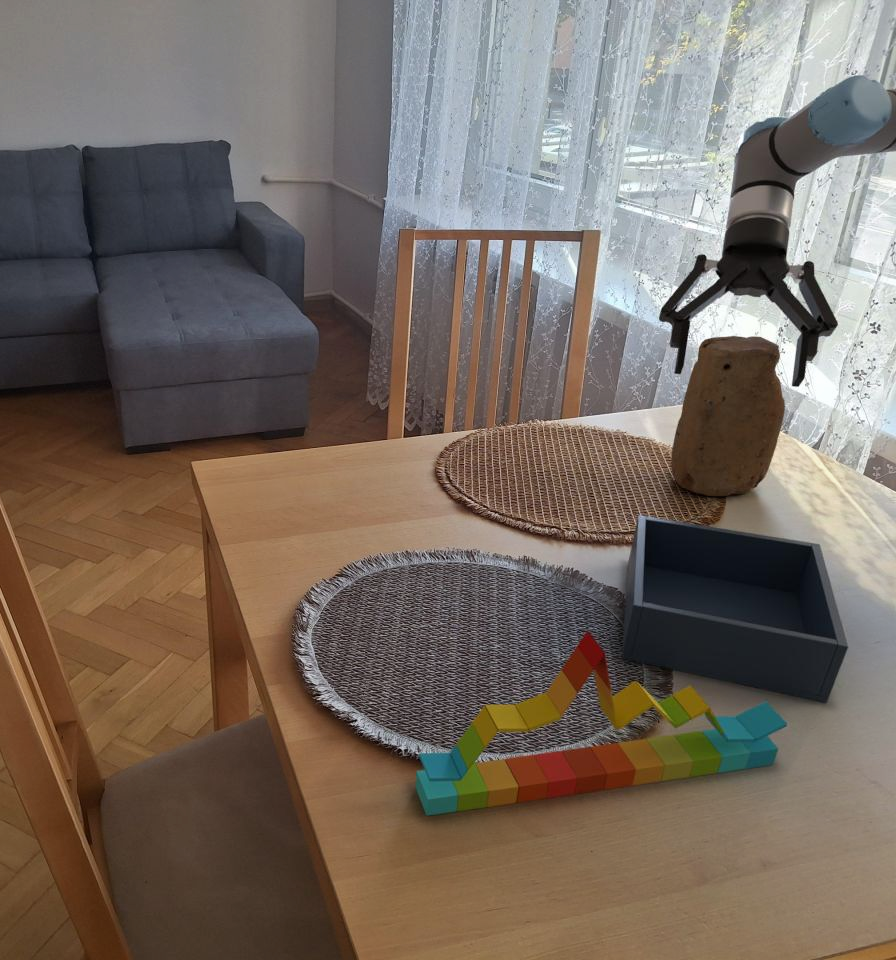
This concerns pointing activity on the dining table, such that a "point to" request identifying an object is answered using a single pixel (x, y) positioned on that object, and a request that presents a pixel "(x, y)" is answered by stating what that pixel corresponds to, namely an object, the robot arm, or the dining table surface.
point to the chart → (598, 767)
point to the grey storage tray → (732, 608)
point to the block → (729, 417)
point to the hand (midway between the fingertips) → (737, 376)
